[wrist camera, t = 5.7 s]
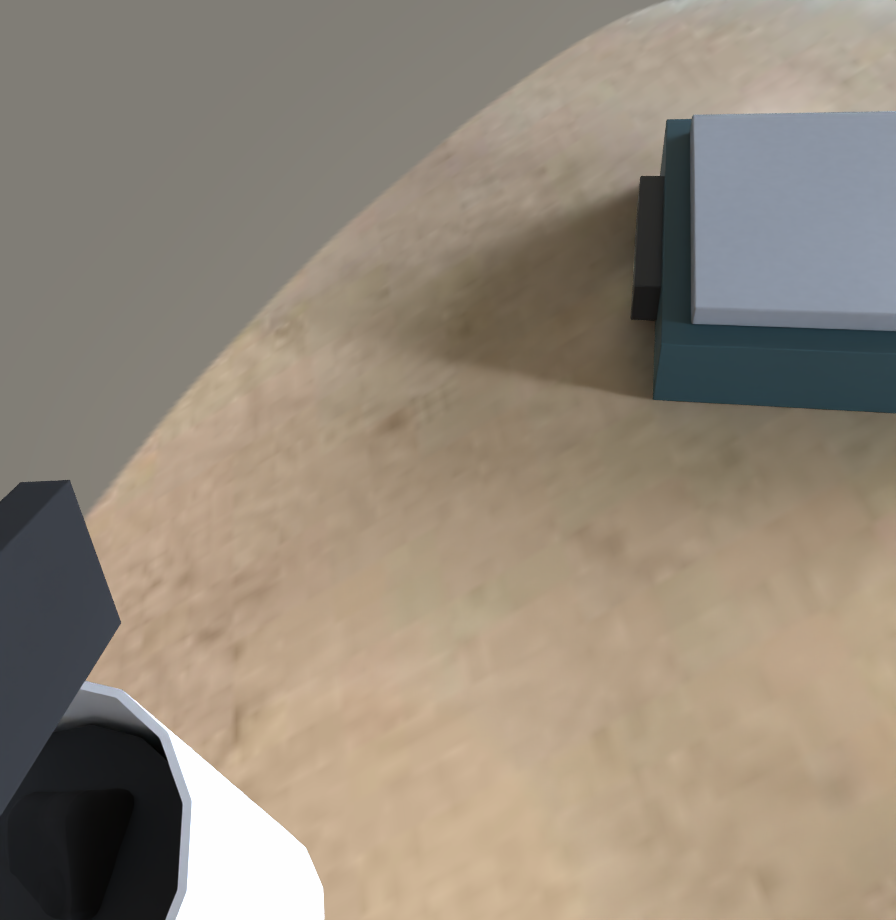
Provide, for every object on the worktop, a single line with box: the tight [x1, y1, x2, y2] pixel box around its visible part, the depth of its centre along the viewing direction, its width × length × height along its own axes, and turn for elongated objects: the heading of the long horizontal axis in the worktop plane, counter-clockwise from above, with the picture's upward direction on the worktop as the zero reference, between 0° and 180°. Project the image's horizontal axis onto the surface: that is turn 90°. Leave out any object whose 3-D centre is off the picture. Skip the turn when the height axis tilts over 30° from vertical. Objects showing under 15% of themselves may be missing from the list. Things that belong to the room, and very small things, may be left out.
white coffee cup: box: [0, 681, 324, 920], centre depth 16 cm, size 7×7×10 cm
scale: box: [631, 111, 896, 413], centre depth 30 cm, size 15×14×4 cm
